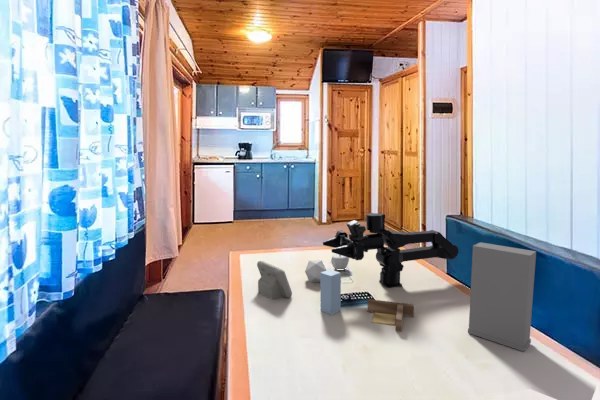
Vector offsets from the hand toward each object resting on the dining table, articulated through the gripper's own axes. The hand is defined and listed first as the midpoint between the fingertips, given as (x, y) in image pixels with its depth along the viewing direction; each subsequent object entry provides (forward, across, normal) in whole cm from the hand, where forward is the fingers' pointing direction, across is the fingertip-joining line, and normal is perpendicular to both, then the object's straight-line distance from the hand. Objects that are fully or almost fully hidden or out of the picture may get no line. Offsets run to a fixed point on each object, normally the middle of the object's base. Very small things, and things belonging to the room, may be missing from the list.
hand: (327, 247), depth 133 cm
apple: (-13, -22, +18) cm, 31 cm away
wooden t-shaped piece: (-9, +28, +16) cm, 33 cm away
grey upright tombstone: (-32, +46, +16) cm, 58 cm away
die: (+1, -12, +17) cm, 21 cm away
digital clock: (+19, -4, +16) cm, 26 cm away
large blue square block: (+5, +16, +16) cm, 23 cm away
